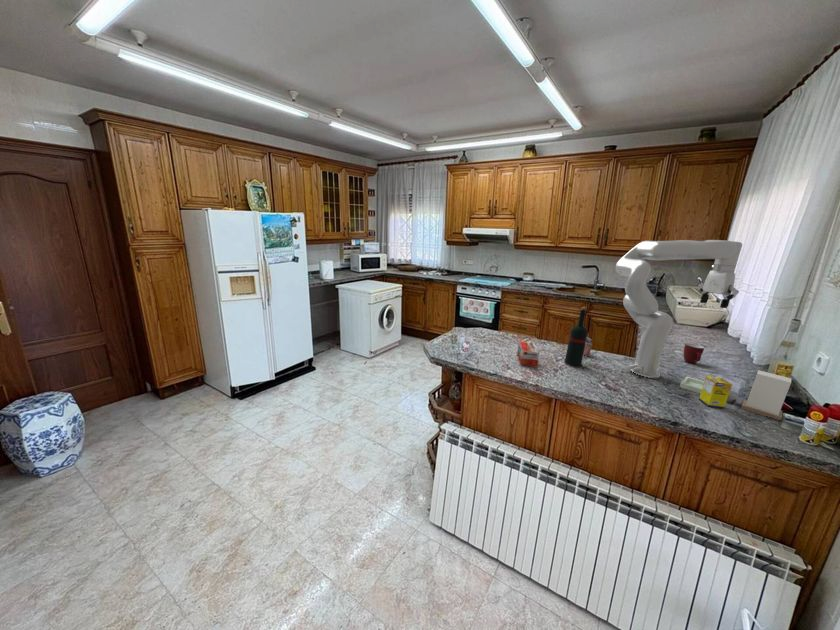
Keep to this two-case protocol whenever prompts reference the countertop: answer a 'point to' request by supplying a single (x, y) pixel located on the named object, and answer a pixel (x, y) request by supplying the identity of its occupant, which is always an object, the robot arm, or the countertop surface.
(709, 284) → the robot arm
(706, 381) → the supplement box
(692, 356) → the mug
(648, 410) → the countertop surface
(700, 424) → the countertop surface
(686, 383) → the parts tray
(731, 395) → the steel bushing
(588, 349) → the lighter
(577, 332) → the wine bottle
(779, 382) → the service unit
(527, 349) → the medicine box
